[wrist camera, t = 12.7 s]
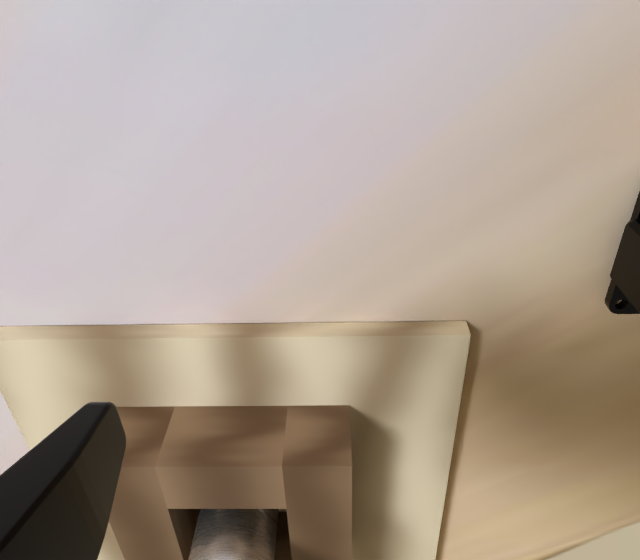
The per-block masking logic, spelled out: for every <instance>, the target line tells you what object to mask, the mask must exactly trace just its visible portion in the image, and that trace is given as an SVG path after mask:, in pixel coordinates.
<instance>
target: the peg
mask: <svg viewBox="0 0 640 560" xmlns="http://www.w3.org/2000/svg"><path fill="white" fill-rule="evenodd" d="M278 514H279V509H200V512H199V516H198V520H197V525H196V529H195V533H194V538H193V542H192V546H191V551H190V555H189V559H188V560H274V556H275V546H276V535H277V524H278Z"/></svg>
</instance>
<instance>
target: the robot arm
mask: <svg viewBox="0 0 640 560" xmlns="http://www.w3.org/2000/svg"><path fill="white" fill-rule="evenodd" d="M610 277H611V283H610V286H609V289H608V292H607V295H606V298H605V304H606V306H607V307H608V308H609V310H610V311H611V312H613V313H616V314H640V192H639V195H638V198H637V201H636V204H635V207H634V211H633V214H632V217H631V220H630V221H629V222H628V223H627V225H626V227H625V230H624V233H623V236H622V239H621V242H620V246H619V249H618V252H617V255H616V258H615V261H614V265H613V268H612V271H611V274H610ZM622 299H623V300H622ZM619 300H622V301H621V302H620V303H617V304H616V302H617V301H619ZM125 449H126V435H125V431H124V428H123V425H122V422H121V419H120V416H119V413H118V410H117V408H116V405H115V404H114V403H112V402H89V403H87V404H85V405H84V406H83V407H81V408H80V409H79V410H78V411H77V412H76V413H74V414H73V415H72V416H71V417H70V418H68V419H67V420H66V421H65V422H64V423H62V424H61V425H60V426H59V427H58V428H56V429H55V430H54V431H53V432H52V433H50V434H49V435H48V436H47V437H46V438H44V439H43V440H42V441H41V442H40V443H38V444H37V445H36V446H35V447H34V448H32V449H31V450H30V451H29V452H28V453H26V454H25V455H24V456H23V457H22V458H20V459H19V460H18V461H17V462H16V463H15V464H13V465H12V466H11V467H10V468H9V469H7V470H6V471H5V472H4V473H3V474H1V475H0V560H97V559H98V556H99V553H100V550H101V547H102V544H103V541H104V538H105V534H106V530H107V526H108V522H109V518H110V514H111V509H112V505H113V501H114V496H115V492H116V488H117V483H118V479H119V475H120V471H121V466H122V462H123V458H124V453H125Z"/></svg>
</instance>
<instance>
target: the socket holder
mask: <svg viewBox="0 0 640 560" xmlns="http://www.w3.org/2000/svg"><path fill="white" fill-rule="evenodd" d="M470 338H471V334H470V331H469V328H468V325H467V322H466V321H421V322H335V323H248V324H161V325H75V326H0V391H1V393H2V395H3V397H4V399H5V401H6V403H7V405H8V407H9V409H10V411H11V413H12V415H13V417H14V419H15V421H16V423H17V425H18V427H19V429H20V431H21V433H22V435H23V437H24V439H25V442H26V444H27V446H28V448H29V450H31V449H32V448H34V447H35V446H36V445H37V444H38V443H40V442H41V441H42V440H43V439H44V438H46V437H47V436H48V435H49V434H50V433H52V432H53V431H54V430H55V429H56V428H58V427H59V426H60V425H61V424H62V423H64V422H65V421H66V420H67V419H68V418H70V417H71V416H72V415H73V414H74V413H76V412H77V411H78V410H79V409H80V408H81V407H83V406H84V405H85V404H87V403H89V402H112V403H114V404H115V405H116V408H117V410H118V413H119V416H120V419H121V422H122V425H123V428H124V431H125V435H126V449H125V453H124V458H123V462H122V466H121V471H120V475H119V479H118V483H117V488H116V492H115V496H114V501H113V505H112V509H111V514H110V518H109V522H108V526H107V530H106V534H105V538H104V541H103V544H102V547H101V550H100V553H99V556H98V559H97V560H188V559H189V555H190V551H191V546H192V542H193V538H194V533H195V529H196V525H197V520H198V516H199V512H200V509H279V514H278V524H277V535H276V546H275V556H274V560H435V558H436V552H437V546H438V539H439V533H440V527H441V520H442V514H443V508H444V502H445V495H446V489H447V483H448V476H449V470H450V464H451V457H452V451H453V445H454V439H455V432H456V426H457V420H458V413H459V407H460V401H461V395H462V388H463V382H464V376H465V369H466V363H467V357H468V350H469V344H470Z"/></svg>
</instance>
